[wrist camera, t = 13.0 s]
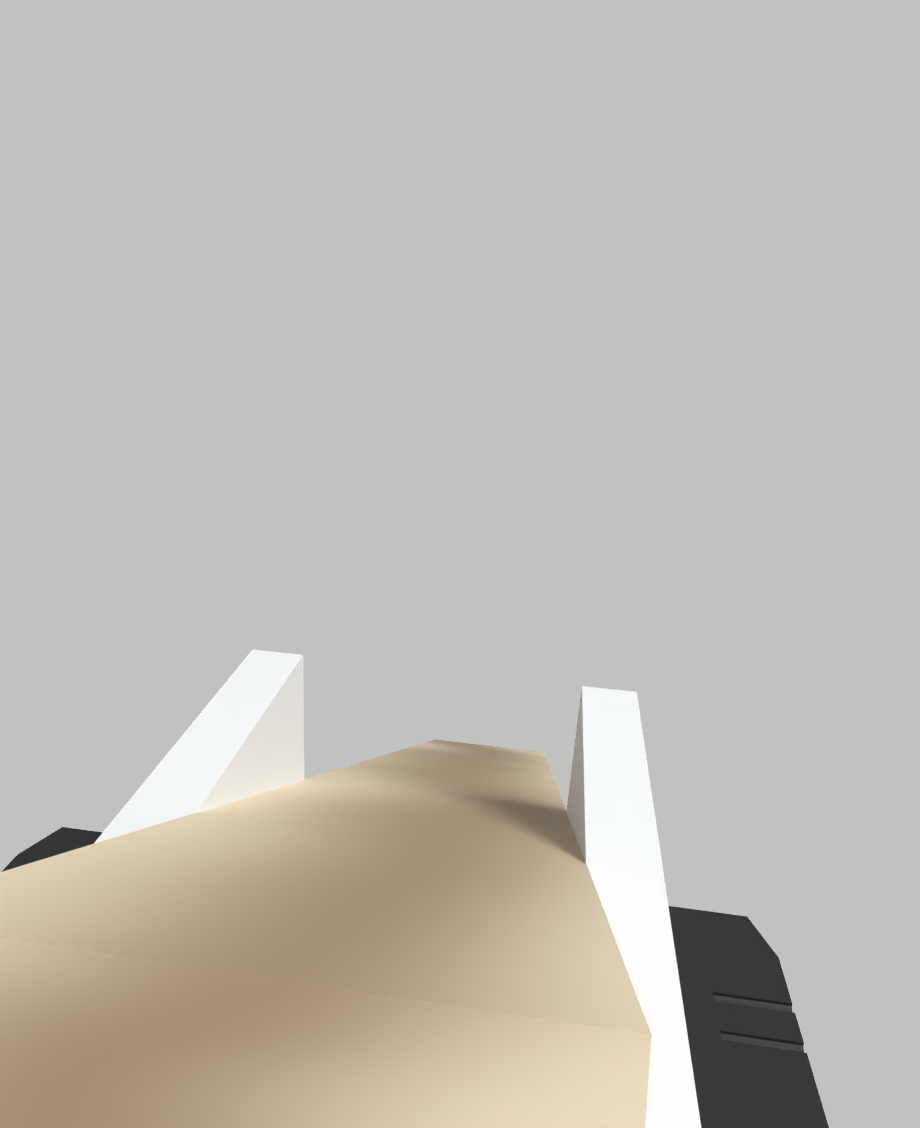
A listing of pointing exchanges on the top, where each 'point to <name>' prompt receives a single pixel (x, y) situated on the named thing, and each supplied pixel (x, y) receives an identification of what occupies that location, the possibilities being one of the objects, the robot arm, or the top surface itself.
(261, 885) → the bar
